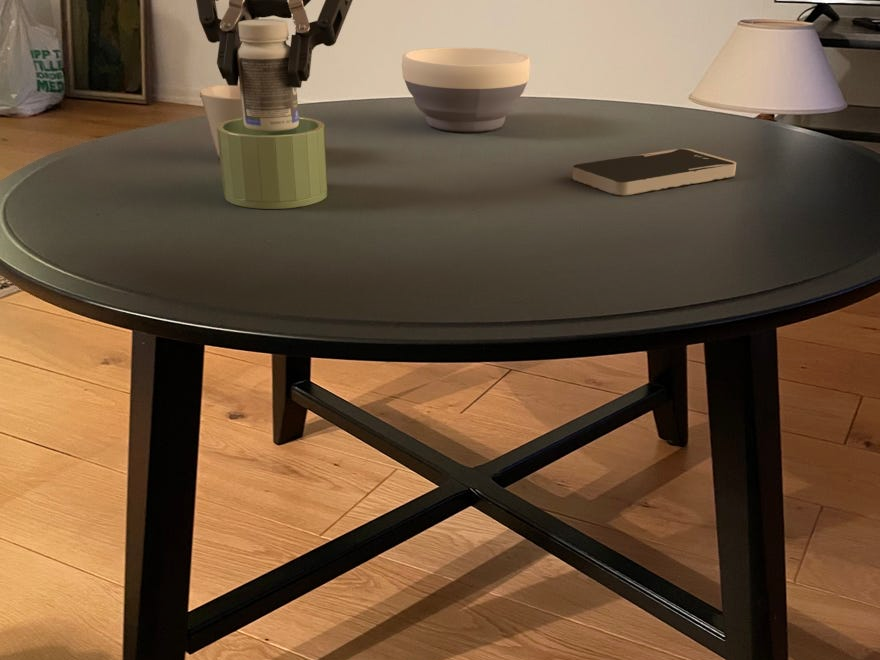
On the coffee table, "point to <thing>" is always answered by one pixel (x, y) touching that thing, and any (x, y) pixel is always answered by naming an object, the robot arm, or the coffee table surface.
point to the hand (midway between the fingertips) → (262, 80)
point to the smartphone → (653, 171)
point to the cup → (273, 165)
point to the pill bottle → (266, 76)
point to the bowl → (465, 86)
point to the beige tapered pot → (221, 106)
